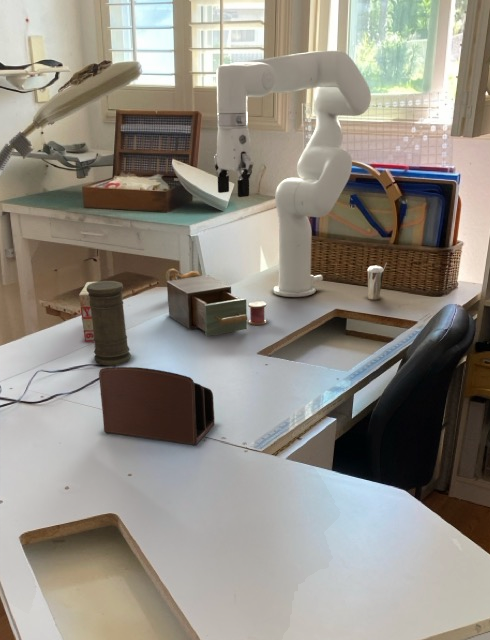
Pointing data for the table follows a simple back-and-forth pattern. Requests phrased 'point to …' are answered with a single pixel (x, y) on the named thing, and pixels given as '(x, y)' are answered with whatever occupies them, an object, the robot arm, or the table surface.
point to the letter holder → (155, 405)
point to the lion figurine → (180, 275)
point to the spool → (257, 313)
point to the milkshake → (374, 281)
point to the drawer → (218, 312)
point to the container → (108, 323)
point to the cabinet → (181, 295)
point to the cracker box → (86, 314)
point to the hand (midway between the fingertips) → (233, 194)
